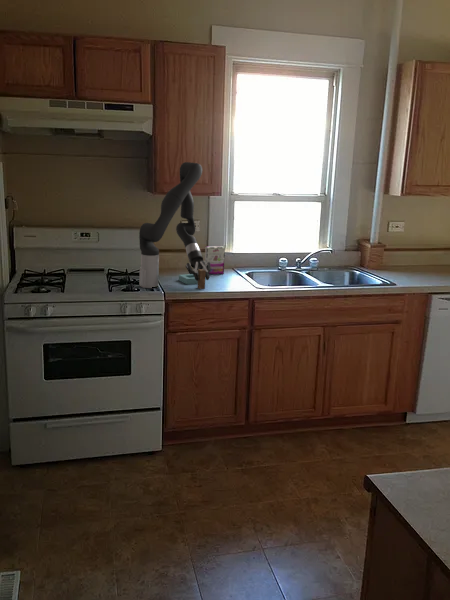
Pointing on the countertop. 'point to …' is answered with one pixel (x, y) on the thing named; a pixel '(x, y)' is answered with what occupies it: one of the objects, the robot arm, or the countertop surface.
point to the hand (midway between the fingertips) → (203, 279)
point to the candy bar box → (215, 258)
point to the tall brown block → (201, 278)
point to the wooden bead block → (188, 279)
